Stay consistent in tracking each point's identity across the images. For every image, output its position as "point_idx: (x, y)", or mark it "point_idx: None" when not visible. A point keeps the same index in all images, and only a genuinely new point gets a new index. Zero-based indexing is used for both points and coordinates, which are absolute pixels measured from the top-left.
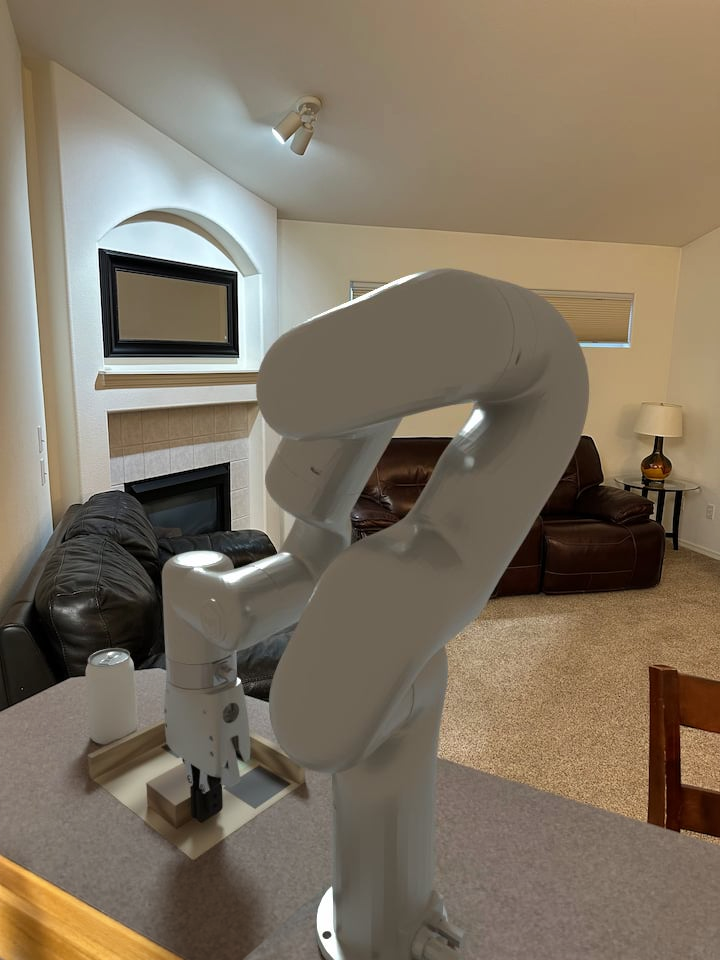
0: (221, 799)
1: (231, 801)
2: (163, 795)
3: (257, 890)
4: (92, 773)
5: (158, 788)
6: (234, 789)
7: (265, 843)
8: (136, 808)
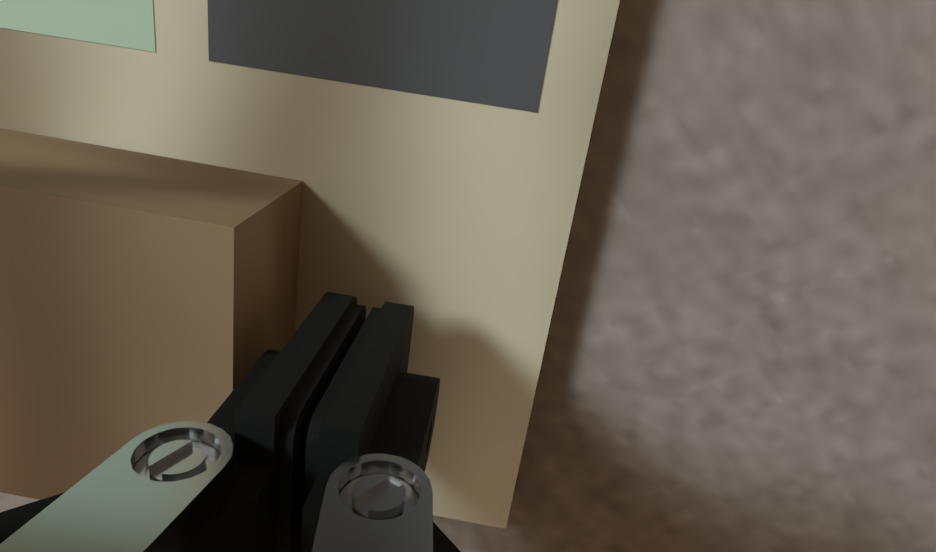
0: (401, 343)
1: (357, 136)
2: None
3: (842, 474)
4: None
5: (18, 481)
6: (284, 31)
7: (721, 244)
8: None
